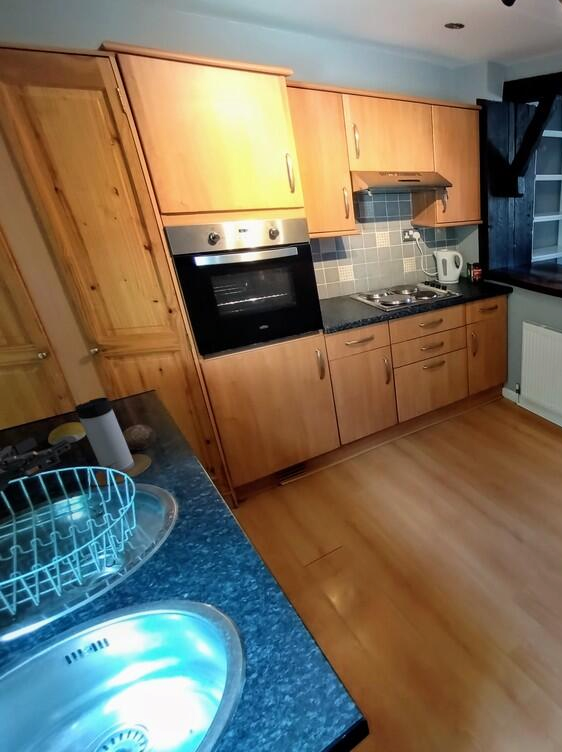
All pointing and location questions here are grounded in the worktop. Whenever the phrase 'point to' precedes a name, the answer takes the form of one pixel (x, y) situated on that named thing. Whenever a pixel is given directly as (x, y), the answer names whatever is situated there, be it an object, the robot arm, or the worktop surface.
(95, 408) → the travel mug
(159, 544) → the worktop surface
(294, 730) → the worktop surface
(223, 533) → the worktop surface
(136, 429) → the mushroom
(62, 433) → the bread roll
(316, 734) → the worktop surface
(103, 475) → the cork coaster
